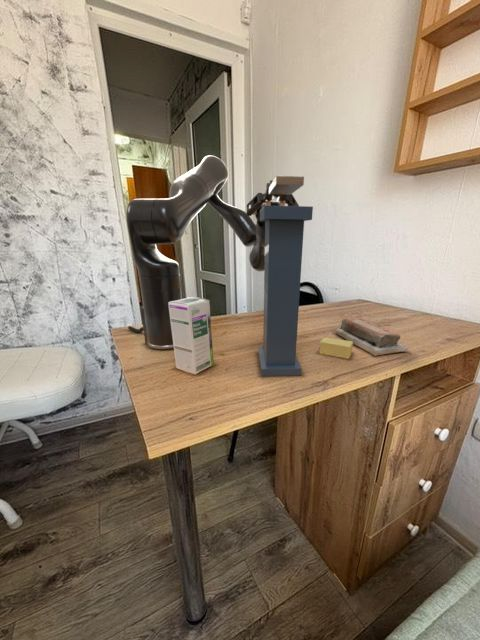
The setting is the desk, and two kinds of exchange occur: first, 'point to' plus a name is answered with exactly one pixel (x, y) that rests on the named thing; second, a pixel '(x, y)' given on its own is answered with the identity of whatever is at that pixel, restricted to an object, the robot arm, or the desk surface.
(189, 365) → the syrup box
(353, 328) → the plastering float
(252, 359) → the desk surface
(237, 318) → the desk surface
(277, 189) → the brown and white slab
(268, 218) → the square pillar stand
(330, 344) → the butter block
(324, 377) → the desk surface
